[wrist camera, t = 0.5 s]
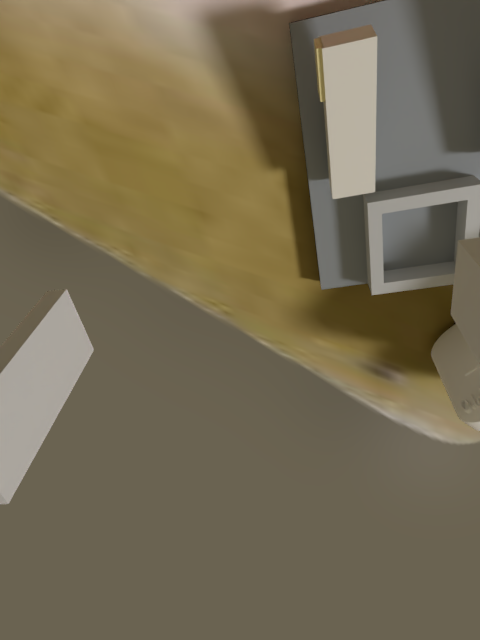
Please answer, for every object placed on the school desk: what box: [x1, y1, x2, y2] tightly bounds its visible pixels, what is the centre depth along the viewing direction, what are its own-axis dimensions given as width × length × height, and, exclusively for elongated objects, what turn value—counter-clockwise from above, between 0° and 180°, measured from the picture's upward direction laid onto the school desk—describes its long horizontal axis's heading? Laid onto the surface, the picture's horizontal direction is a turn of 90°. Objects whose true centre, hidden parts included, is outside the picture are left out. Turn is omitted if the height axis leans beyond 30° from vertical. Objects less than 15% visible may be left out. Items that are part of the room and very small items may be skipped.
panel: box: [289, 0, 480, 295], centre depth 32 cm, size 20×18×4 cm
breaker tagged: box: [314, 24, 377, 199], centre depth 29 cm, size 10×3×2 cm, turn 13°
